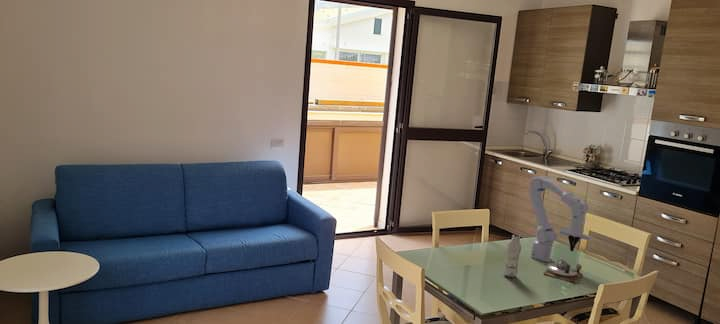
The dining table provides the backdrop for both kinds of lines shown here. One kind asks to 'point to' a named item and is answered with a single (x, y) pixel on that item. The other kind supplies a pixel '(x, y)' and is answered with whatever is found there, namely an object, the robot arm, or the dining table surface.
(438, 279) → the dining table surface
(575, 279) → the base board
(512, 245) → the plastic bottle
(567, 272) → the turntable
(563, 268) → the cover
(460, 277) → the dining table surface
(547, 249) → the robot arm
